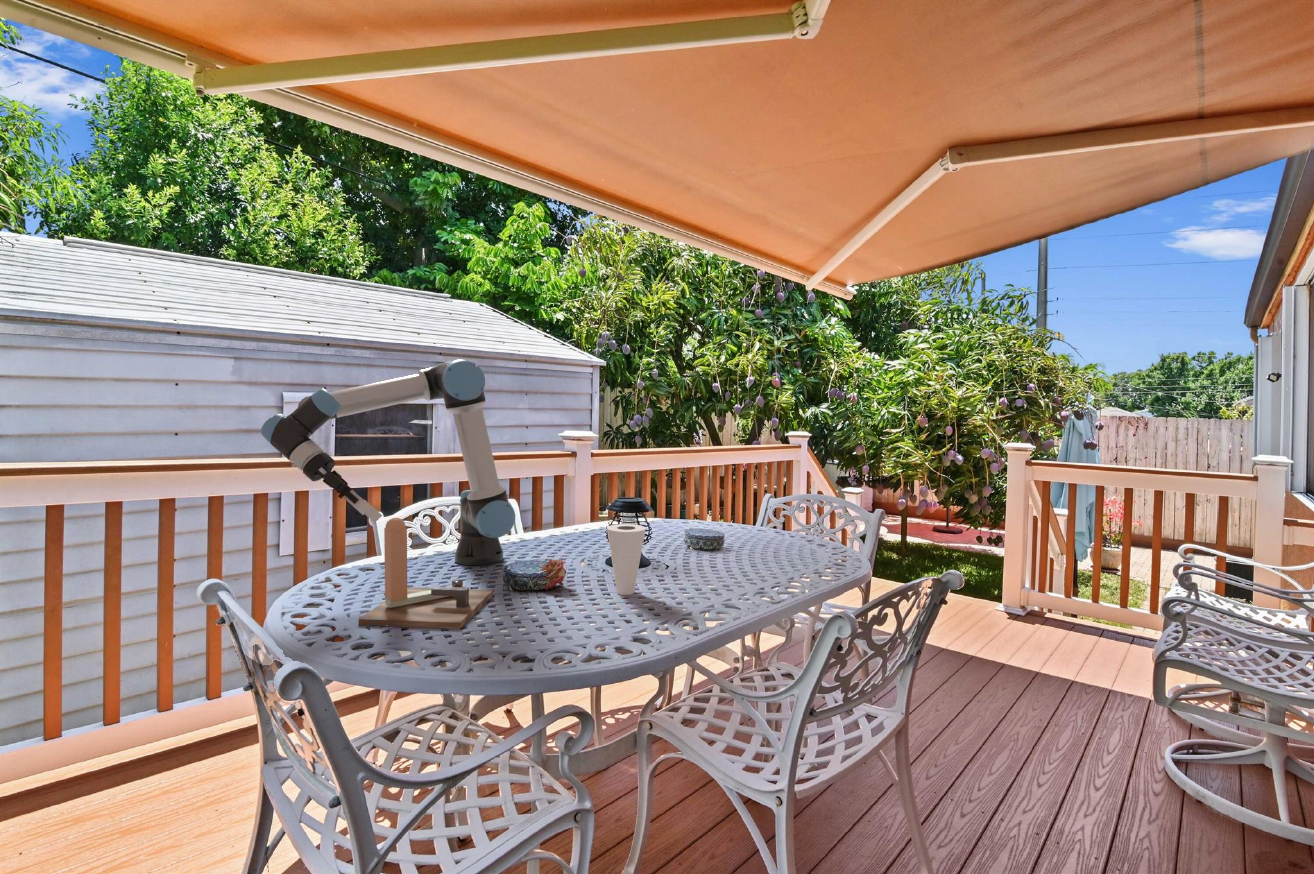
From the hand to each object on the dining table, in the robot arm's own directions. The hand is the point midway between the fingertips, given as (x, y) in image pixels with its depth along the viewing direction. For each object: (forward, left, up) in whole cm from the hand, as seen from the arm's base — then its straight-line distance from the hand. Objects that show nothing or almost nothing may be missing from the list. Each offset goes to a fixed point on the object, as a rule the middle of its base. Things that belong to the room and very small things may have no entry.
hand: (373, 515), depth 179 cm
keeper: (-17, +17, -20) cm, 32 cm away
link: (-10, +14, -20) cm, 27 cm away
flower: (-44, +14, -22) cm, 51 cm away
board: (-10, +17, -22) cm, 30 cm away
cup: (-60, +28, -22) cm, 70 cm away
